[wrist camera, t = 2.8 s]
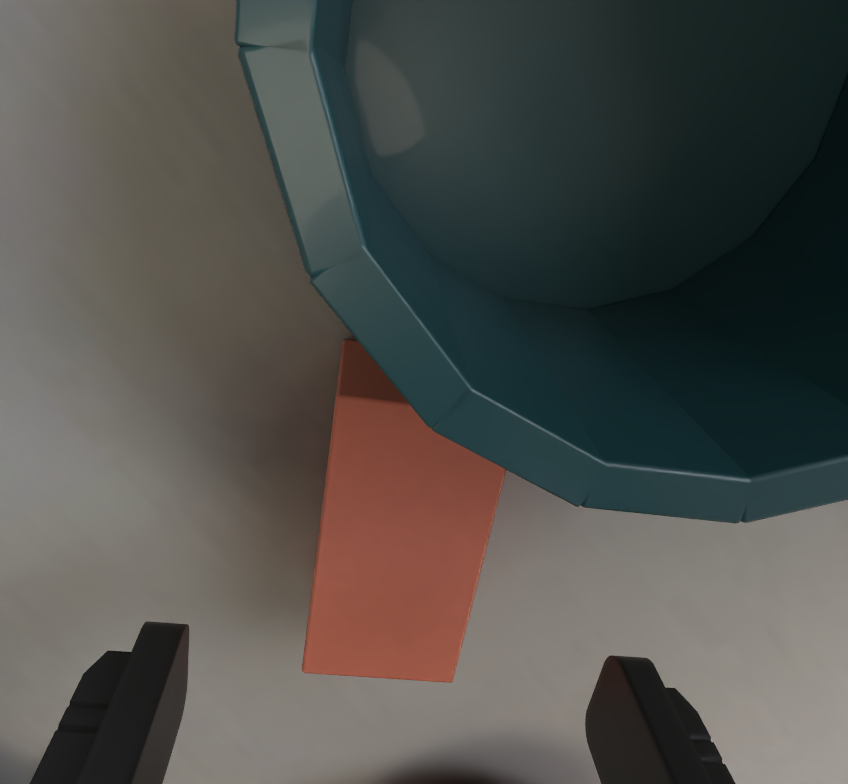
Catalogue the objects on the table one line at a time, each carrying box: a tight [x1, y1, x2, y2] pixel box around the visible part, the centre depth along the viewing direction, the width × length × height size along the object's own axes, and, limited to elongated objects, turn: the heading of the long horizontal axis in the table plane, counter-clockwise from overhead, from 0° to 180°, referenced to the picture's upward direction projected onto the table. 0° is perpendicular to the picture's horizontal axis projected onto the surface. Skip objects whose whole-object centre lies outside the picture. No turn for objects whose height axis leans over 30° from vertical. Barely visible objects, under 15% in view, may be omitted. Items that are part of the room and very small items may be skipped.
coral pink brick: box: [302, 340, 506, 682], centre depth 17 cm, size 8×4×4 cm, turn 170°
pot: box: [235, 0, 848, 523], centre depth 11 cm, size 13×18×8 cm
